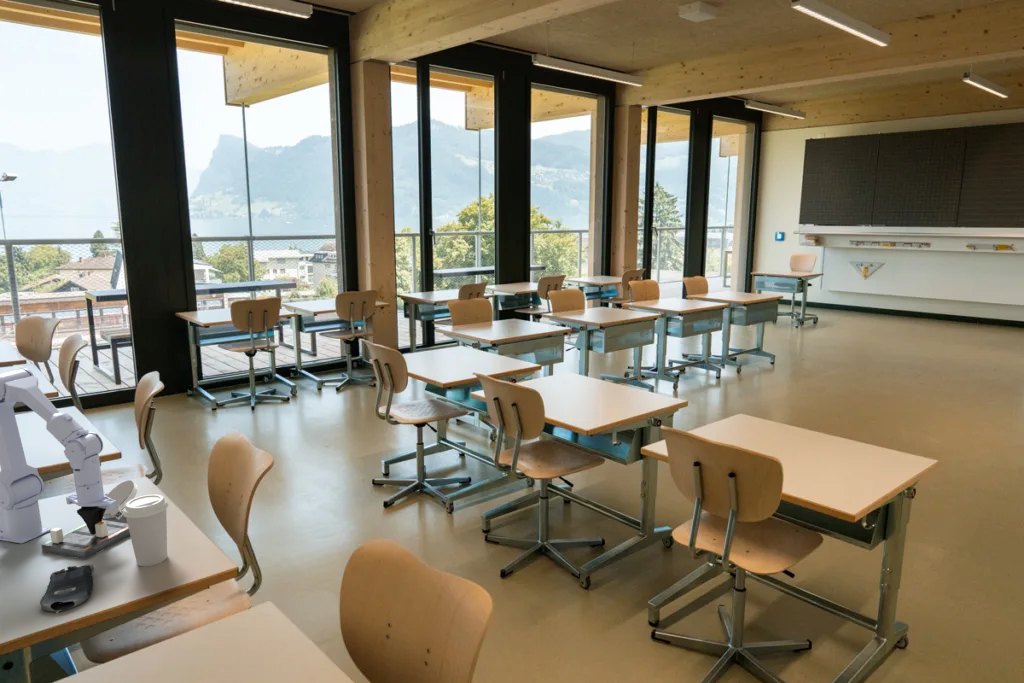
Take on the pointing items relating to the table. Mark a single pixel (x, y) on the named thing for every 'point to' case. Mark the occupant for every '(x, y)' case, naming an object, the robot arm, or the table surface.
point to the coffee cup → (148, 528)
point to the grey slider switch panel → (87, 541)
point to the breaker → (56, 535)
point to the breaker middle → (101, 529)
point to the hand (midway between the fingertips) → (95, 532)
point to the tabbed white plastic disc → (121, 498)
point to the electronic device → (68, 587)
